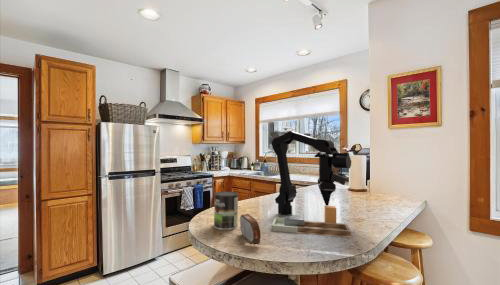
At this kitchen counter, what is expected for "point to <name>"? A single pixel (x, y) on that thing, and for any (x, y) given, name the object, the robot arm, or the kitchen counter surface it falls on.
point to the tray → (282, 226)
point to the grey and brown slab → (250, 228)
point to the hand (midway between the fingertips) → (326, 202)
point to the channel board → (325, 229)
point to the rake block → (330, 214)
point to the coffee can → (226, 210)
